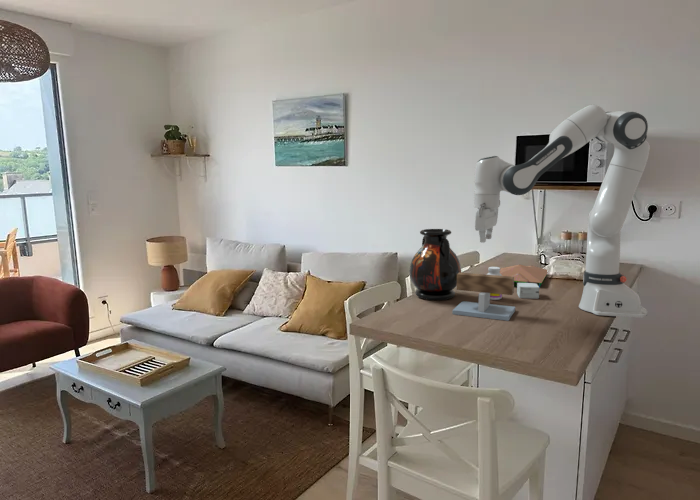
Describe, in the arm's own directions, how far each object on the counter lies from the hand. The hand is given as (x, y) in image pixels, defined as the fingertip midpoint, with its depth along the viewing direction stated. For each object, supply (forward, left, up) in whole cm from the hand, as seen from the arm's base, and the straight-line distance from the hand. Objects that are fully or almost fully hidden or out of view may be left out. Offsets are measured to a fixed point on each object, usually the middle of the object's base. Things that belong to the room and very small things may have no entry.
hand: (485, 240), depth 178 cm
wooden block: (0, 0, -19) cm, 19 cm away
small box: (-11, -31, -27) cm, 43 cm away
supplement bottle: (+1, -22, -27) cm, 35 cm away
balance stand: (0, 0, -27) cm, 27 cm away
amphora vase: (+24, -16, -27) cm, 40 cm away
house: (-3, -60, -28) cm, 66 cm away
